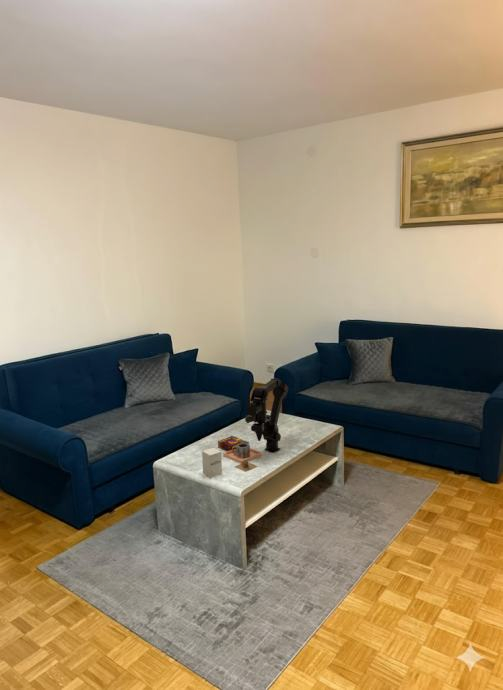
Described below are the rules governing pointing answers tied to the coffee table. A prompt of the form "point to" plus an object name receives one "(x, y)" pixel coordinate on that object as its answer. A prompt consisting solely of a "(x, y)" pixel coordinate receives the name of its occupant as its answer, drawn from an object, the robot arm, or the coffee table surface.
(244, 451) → the grey tankard
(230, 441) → the decorative book
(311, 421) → the coffee table surface
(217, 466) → the supplement box
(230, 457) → the tray
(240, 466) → the square plate with peg
